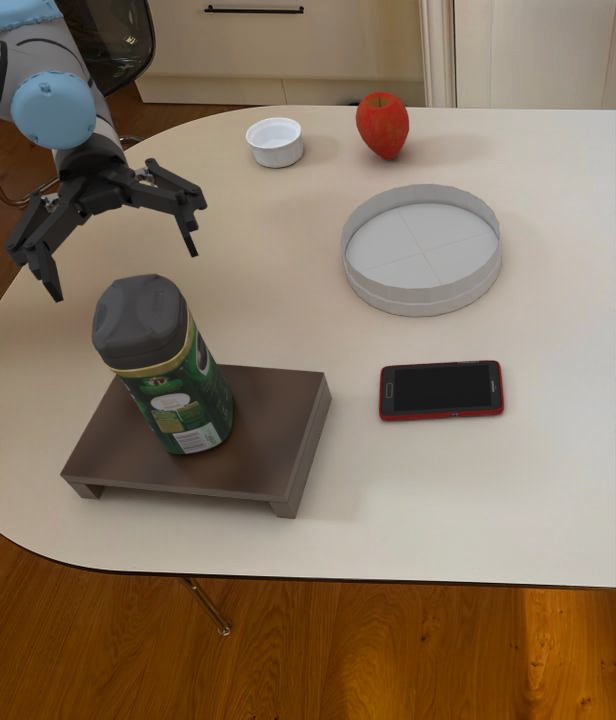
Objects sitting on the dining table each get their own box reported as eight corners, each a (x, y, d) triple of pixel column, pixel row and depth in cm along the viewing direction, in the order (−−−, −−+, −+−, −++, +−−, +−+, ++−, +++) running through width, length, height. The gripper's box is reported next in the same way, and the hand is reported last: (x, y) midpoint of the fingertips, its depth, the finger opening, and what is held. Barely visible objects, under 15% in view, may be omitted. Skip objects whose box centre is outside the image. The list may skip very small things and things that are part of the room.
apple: (351, 156, 116) (339, 95, 108) (391, 135, 120) (383, 75, 111) (383, 179, 112) (373, 118, 104) (424, 157, 115) (418, 96, 107)
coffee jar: (163, 393, 79) (89, 272, 65) (235, 379, 80) (177, 258, 66) (158, 465, 73) (76, 350, 59) (236, 450, 74) (173, 333, 60)
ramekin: (271, 135, 120) (264, 112, 117) (316, 145, 118) (311, 122, 115) (242, 164, 115) (234, 141, 112) (289, 175, 113) (282, 152, 110)
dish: (374, 337, 91) (368, 311, 87) (326, 235, 103) (319, 208, 100) (528, 285, 96) (530, 258, 92) (464, 194, 109) (463, 167, 105)
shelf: (81, 498, 77) (59, 474, 73) (142, 382, 87) (125, 356, 83) (295, 519, 75) (283, 496, 71) (332, 397, 85) (324, 371, 81)
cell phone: (381, 370, 87) (380, 365, 86) (500, 363, 87) (500, 358, 86) (379, 422, 82) (377, 417, 81) (504, 415, 82) (504, 410, 82)
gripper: (205, 157, 90) (253, 255, 78) (-6, 219, 83) (11, 338, 71) (185, 104, 84) (234, 201, 72) (-43, 165, 77) (-32, 284, 65)
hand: (124, 269), depth 71 cm, fingers open, 13 cm apart
